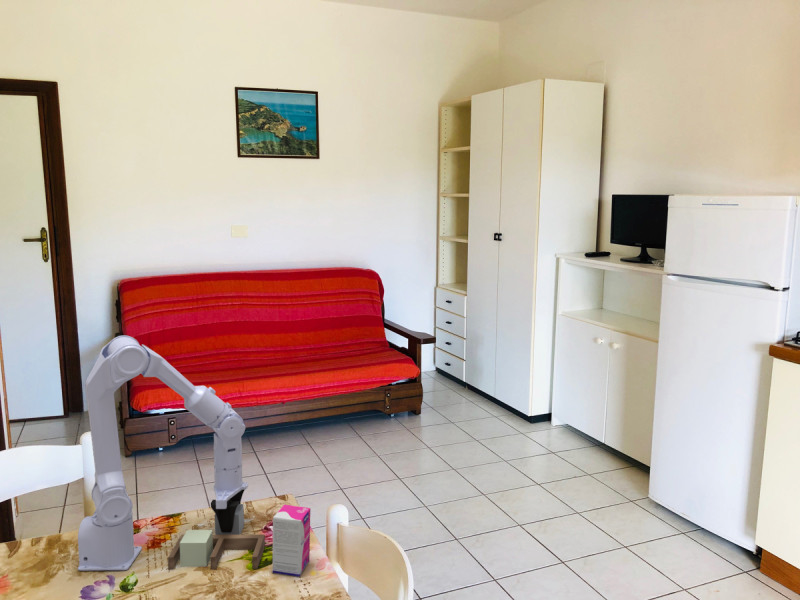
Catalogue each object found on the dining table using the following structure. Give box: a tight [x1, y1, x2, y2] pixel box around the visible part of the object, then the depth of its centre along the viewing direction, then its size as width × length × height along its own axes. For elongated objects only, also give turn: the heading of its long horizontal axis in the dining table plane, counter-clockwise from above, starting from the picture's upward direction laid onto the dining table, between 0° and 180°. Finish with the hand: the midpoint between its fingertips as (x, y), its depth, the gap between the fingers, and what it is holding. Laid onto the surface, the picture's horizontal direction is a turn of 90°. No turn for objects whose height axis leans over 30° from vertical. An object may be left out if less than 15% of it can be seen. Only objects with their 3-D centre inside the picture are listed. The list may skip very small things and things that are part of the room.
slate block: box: [214, 503, 245, 535], centre depth 138 cm, size 5×5×5 cm
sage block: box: [179, 529, 214, 568], centre depth 127 cm, size 5×5×5 cm
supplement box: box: [271, 504, 311, 578], centre depth 124 cm, size 6×6×12 cm
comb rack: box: [167, 533, 266, 570], centre depth 128 cm, size 17×8×2 cm, turn 92°
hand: (229, 525), depth 138 cm, fingers closed on slate block, 5 cm apart
